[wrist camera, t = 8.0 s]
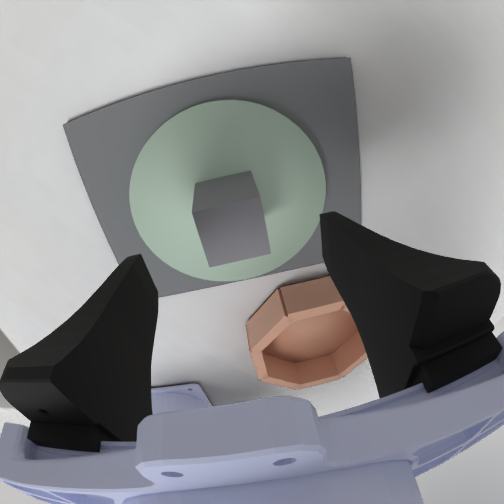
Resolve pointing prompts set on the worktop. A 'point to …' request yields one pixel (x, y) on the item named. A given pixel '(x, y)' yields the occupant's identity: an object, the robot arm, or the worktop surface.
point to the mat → (210, 89)
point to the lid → (227, 190)
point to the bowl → (304, 336)
